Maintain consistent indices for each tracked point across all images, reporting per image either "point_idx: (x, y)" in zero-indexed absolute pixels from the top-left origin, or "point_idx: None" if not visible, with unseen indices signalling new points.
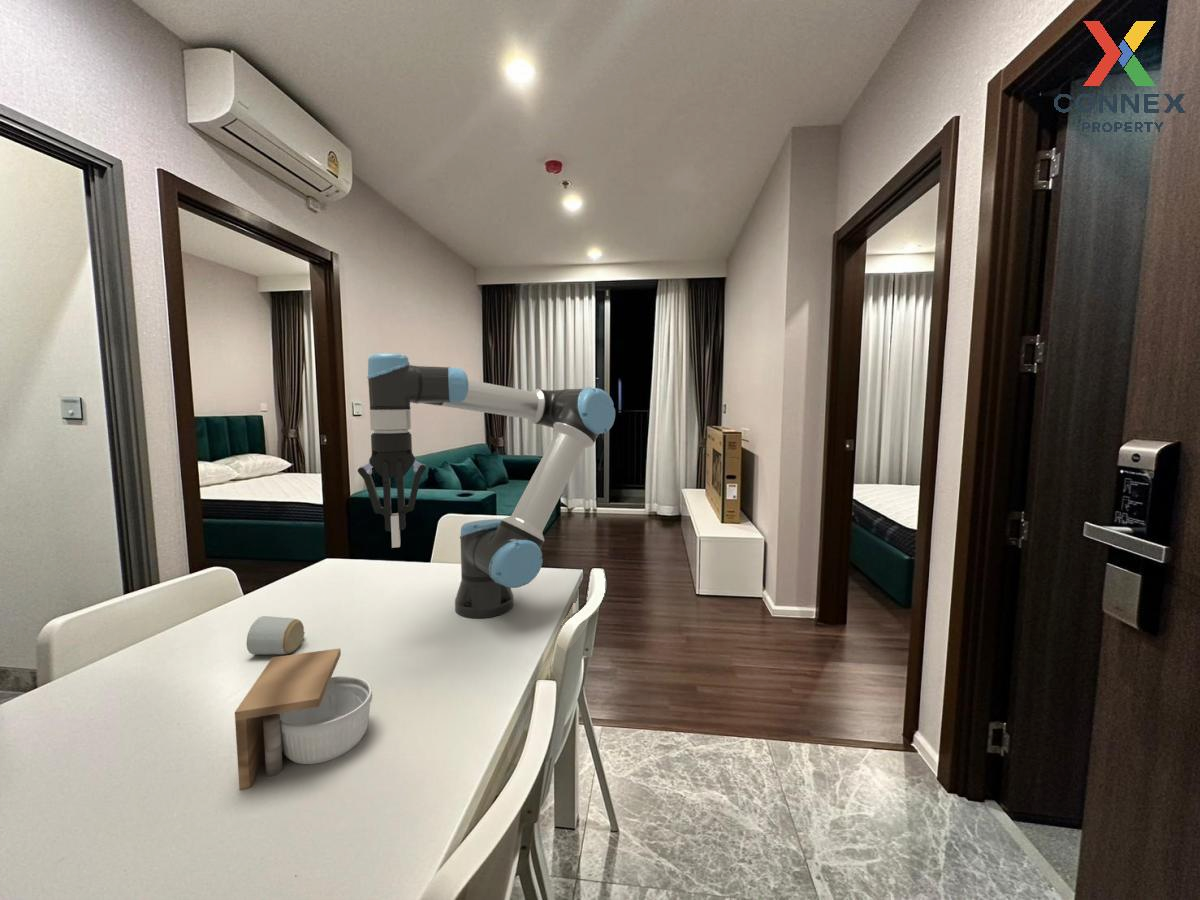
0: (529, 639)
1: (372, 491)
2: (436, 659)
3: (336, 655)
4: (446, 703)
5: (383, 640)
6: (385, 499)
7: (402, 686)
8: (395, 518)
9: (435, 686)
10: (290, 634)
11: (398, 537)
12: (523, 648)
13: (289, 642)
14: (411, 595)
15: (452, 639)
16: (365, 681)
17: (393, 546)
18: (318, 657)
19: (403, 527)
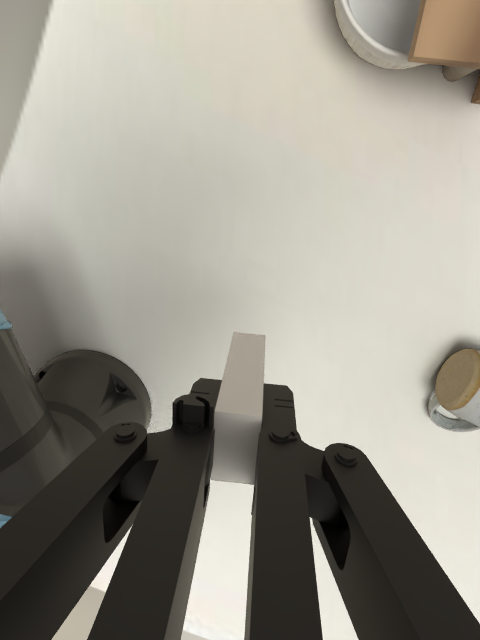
0: (15, 224)
1: (431, 614)
2: (197, 219)
3: (426, 8)
4: (188, 30)
5: (288, 340)
6: (294, 517)
7: (264, 138)
8: (234, 403)
9: (204, 109)
10: (469, 367)
11: (233, 350)
12: (29, 190)
13: (464, 358)
14: (229, 506)
15: (163, 289)
16: (345, 3)
17: (259, 335)
18: (470, 14)
19: (202, 383)
